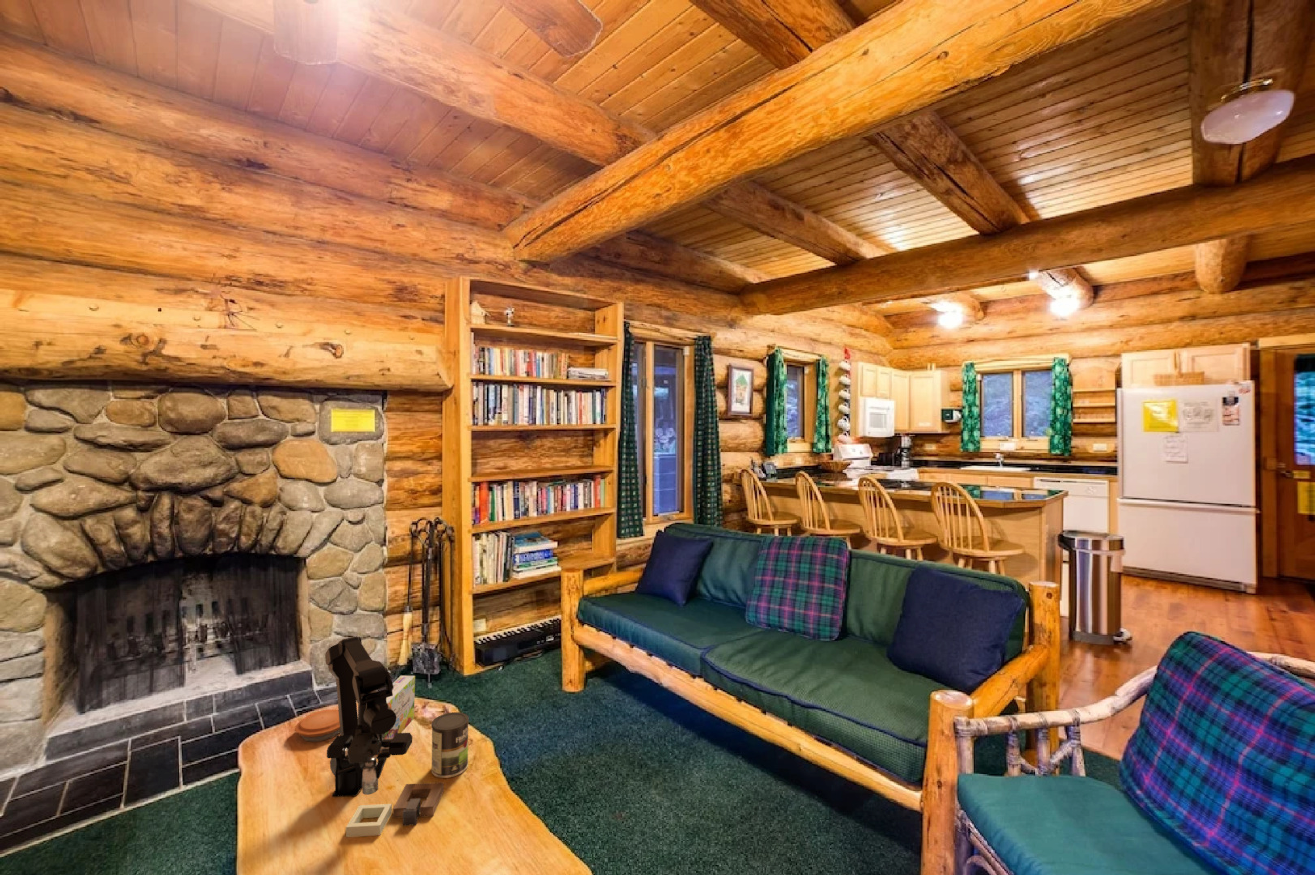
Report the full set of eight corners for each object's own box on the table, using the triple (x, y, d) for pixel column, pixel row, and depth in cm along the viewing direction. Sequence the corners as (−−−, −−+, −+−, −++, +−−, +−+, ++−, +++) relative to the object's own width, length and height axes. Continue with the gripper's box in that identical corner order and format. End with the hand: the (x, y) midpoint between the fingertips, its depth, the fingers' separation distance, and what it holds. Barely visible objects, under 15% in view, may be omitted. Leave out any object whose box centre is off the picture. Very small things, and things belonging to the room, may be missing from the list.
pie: (354, 717, 196) (354, 703, 196) (342, 742, 181) (342, 726, 181) (304, 723, 192) (304, 708, 192) (287, 749, 177) (287, 733, 177)
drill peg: (359, 795, 142) (360, 763, 142) (365, 786, 146) (365, 755, 145) (375, 794, 142) (375, 763, 142) (380, 785, 146) (380, 754, 146)
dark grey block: (402, 825, 144) (402, 812, 144) (409, 812, 149) (409, 799, 149) (415, 825, 144) (416, 811, 144) (421, 811, 149) (422, 798, 149)
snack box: (385, 753, 175) (385, 705, 175) (367, 753, 175) (367, 704, 175) (415, 717, 197) (415, 674, 196) (399, 717, 197) (399, 674, 196)
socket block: (392, 818, 147) (393, 808, 147) (405, 793, 157) (405, 784, 157) (433, 816, 148) (433, 806, 148) (443, 791, 158) (443, 782, 158)
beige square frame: (345, 837, 140) (346, 827, 140) (359, 815, 148) (359, 805, 148) (380, 835, 141) (380, 825, 141) (391, 813, 149) (391, 803, 149)
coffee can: (474, 760, 173) (475, 714, 172) (456, 780, 162) (456, 732, 162) (444, 755, 175) (444, 710, 174) (423, 775, 165) (424, 727, 164)
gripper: (315, 736, 135) (315, 801, 135) (398, 733, 137) (398, 797, 137) (336, 712, 146) (336, 772, 146) (413, 709, 148) (412, 769, 148)
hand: (370, 778), depth 144 cm, fingers closed on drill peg, 4 cm apart
